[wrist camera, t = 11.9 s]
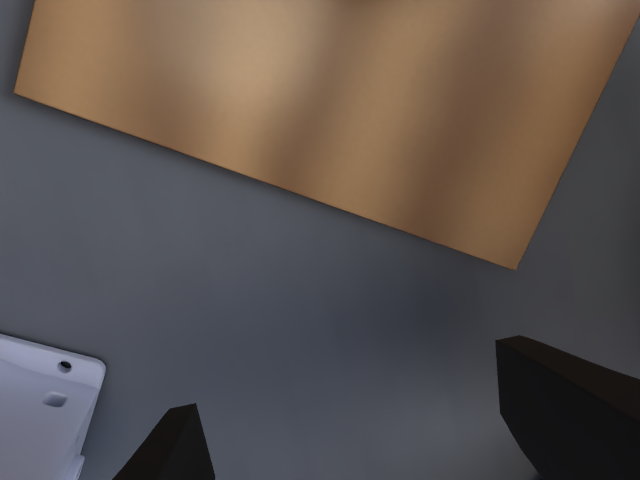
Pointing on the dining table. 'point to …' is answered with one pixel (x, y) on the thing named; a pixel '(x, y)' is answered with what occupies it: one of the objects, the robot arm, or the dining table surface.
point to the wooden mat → (349, 97)
